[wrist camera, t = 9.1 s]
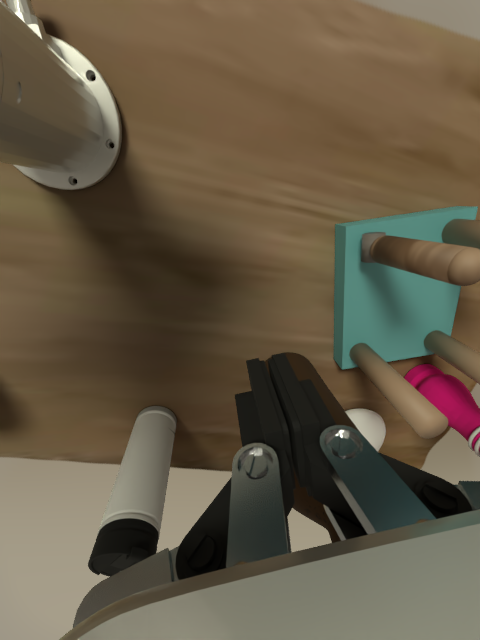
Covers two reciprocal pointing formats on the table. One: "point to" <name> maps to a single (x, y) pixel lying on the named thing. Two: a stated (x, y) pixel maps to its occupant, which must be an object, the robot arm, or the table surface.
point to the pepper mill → (449, 401)
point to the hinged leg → (423, 257)
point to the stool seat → (400, 309)
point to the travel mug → (137, 495)
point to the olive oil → (307, 371)
